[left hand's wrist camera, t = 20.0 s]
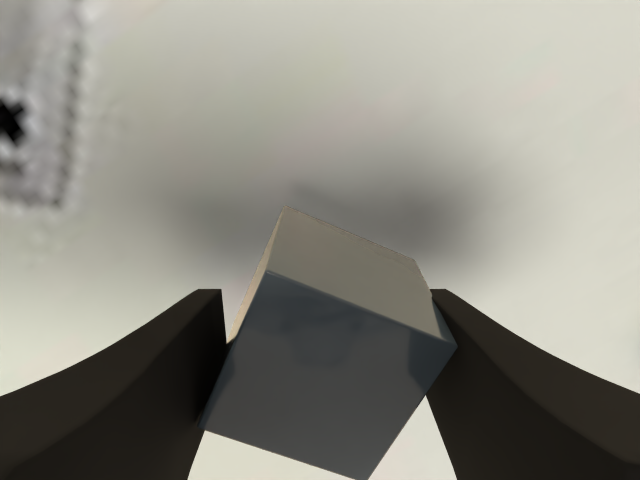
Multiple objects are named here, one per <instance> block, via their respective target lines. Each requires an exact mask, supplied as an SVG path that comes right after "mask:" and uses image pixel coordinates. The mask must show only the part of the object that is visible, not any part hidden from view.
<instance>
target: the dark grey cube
mask: <svg viewBox="0 0 640 480" xmlns="http://www.w3.org/2000/svg"><path fill="white" fill-rule="evenodd" d="M457 348H458V344H457V342H456V340H455V338H454V336H453V335H452V333H451V331H450V329H449V327H448V325H447V323H446V321H445V319H444V318H443V316H442V314H441V312H440V311H439V309H438V308H437V306H436V304H435V303H434V301H433V299H432V293H431V291H430V289H429V287H428V285H427V283H426V281H425V280H424V278H423V276H422V274H421V272H420V270H419V268H418V266H417V264H416V262H415V260H413V259H411V258H408V257H406V256H404V255H401V254H399V253H397V252H394V251H392V250H390V249H387V248H385V247H383V246H380V245H378V244H375V243H373V242H371V241H368V240H366V239H364V238H361V237H359V236H357V235H354V234H352V233H350V232H347V231H345V230H342V229H340V228H338V227H335V226H333V225H331V224H328V223H326V222H324V221H321V220H319V219H317V218H314V217H312V216H309V215H307V214H305V213H302V212H300V211H298V210H295V209H293V208H291V207H288V206H284V207H283V209H282V212H281V214H280V216H279V219H278V221H277V223H276V226H275V228H274V230H273V233H272V235H271V237H270V240H269V242H268V244H267V246H266V249H265V251H264V253H263V256H262V258H261V260H260V263H259V265H258V267H257V270H256V272H255V274H254V277H253V279H252V281H251V284H250V286H249V288H248V291H247V293H246V295H245V298H244V300H243V302H242V304H241V307H240V309H239V311H238V314H237V316H236V318H235V321H234V323H233V326H232V329H231V332H230V334H229V337H228V340H227V344H226V347H225V350H224V352H223V355H222V358H221V361H220V364H219V366H218V369H217V372H216V375H215V377H214V380H213V383H212V385H211V388H210V391H209V393H208V396H207V399H206V401H205V404H204V407H203V410H202V412H201V415H200V418H199V421H198V424H197V427H198V428H199V429H202V430H205V431H208V432H211V433H214V434H218V435H221V436H224V437H227V438H230V439H233V440H236V441H239V442H242V443H245V444H248V445H251V446H254V447H257V448H260V449H263V450H266V451H269V452H272V453H275V454H278V455H281V456H285V457H288V458H291V459H294V460H297V461H300V462H303V463H306V464H309V465H312V466H315V467H318V468H321V469H324V470H327V471H330V472H333V473H336V474H339V475H342V476H345V477H348V478H352V479H355V480H368V479H369V477H370V476H371V474H372V473H373V471H374V470H375V469H376V467H377V466H378V464H379V463H380V461H381V460H382V458H383V457H384V455H385V454H386V452H387V451H388V449H389V448H390V446H391V445H392V444H393V442H394V441H395V439H396V438H397V436H398V435H399V433H400V432H401V430H402V429H403V427H404V426H405V424H406V423H407V422H408V420H409V419H410V417H411V416H412V414H413V413H414V411H415V410H416V408H417V407H418V405H419V404H420V402H421V401H422V400H423V398H424V397H425V395H426V394H427V392H428V391H429V389H430V388H431V386H432V385H433V383H434V382H435V380H436V379H437V377H438V376H439V375H440V373H441V372H442V370H443V369H444V367H445V366H446V364H447V363H448V361H449V360H450V358H451V357H452V355H453V354H454V353H455V351H456V350H457Z"/></svg>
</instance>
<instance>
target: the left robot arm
mask: <svg viewBox="0 0 640 480" xmlns="http://www.w3.org/2000/svg"><path fill="white" fill-rule="evenodd" d="M430 291H431V293H432V299H433V301H434V303H435V304H436V306H437V308H438V309H439V311H440V312H441V314H442V316H443V318H444V319H445V321H446V323H447V325H448V327H449V329H450V331H451V333H452V335H453V336H454V338H455V340H456V342H457V344H458V348H457V350H456V351H455V353H454V354H453V355H452V357H451V358H450V360H449V361H448V363H447V364H446V366H445V367H444V369H443V370H442V372H441V373H440V375H439V376H438V377H437V379H436V380H435V382H434V383H433V385H432V386H431V388H430V389H429V391H428V392H427V394H426V397H427V399H428V402H429V405H430V407H431V410H432V413H433V416H434V418H435V421H436V423H437V426H438V429H439V431H440V434H441V437H442V439H443V442H444V445H445V447H446V450H447V452H448V455H449V458H450V460H451V463H452V466H453V469H454V472H455V475H456V478H457V480H640V394H639V393H636V392H634V391H631V390H629V389H626V388H624V387H622V386H619V385H617V384H614V383H612V382H609V381H607V380H604V379H602V378H600V377H597V376H595V375H593V374H591V373H588V372H586V371H584V370H582V369H580V368H578V367H576V366H573V365H571V364H569V363H567V362H565V361H563V360H561V359H559V358H557V357H555V356H553V355H551V354H549V353H547V352H546V351H544V350H542V349H540V348H538V347H536V346H535V345H533V344H531V343H530V342H528V341H526V340H524V339H523V338H521V337H519V336H518V335H516V334H514V333H513V332H511V331H509V330H508V329H506V328H505V327H503V326H502V325H500V324H498V323H497V322H495V321H494V320H492V319H491V318H489V317H488V316H486V315H485V314H483V313H482V312H480V311H479V310H477V309H476V308H474V307H473V306H471V305H470V304H469V303H467V302H466V301H464V300H463V299H461V298H460V297H458V296H457V295H455V294H453V293H452V292H450V291H448V290H446V289H430ZM226 344H227V342H226V332H225V322H224V311H223V301H222V291H221V289H198V290H196V291H194V292H192V293H191V294H189V295H187V296H186V297H184V298H183V299H182V300H180V301H179V302H177V303H176V304H174V305H173V306H171V307H170V308H169V309H167V310H166V311H164V312H163V313H161V314H160V315H158V316H157V317H155V318H154V319H152V320H151V321H149V322H148V323H146V324H145V325H143V326H142V327H140V328H138V329H137V330H135V331H134V332H132V333H130V334H129V335H127V336H125V337H124V338H122V339H121V340H119V341H117V342H116V343H114V344H112V345H111V346H109V347H107V348H105V349H104V350H102V351H100V352H98V353H96V354H94V355H93V356H91V357H89V358H87V359H85V360H83V361H81V362H79V363H77V364H75V365H73V366H71V367H69V368H67V369H64V370H62V371H60V372H58V373H55V374H53V375H51V376H48V377H46V378H44V379H41V380H39V381H37V382H34V383H32V384H30V385H27V386H25V387H23V388H20V389H18V390H16V391H13V392H11V393H8V394H5V395H3V396H0V480H187V479H188V476H189V472H190V469H191V466H192V464H193V461H194V458H195V455H196V453H197V450H198V447H199V445H200V442H201V439H202V437H203V434H204V431H205V430H202V429H199V428H198V427H197V424H198V421H199V418H200V415H201V412H202V410H203V407H204V404H205V401H206V399H207V396H208V393H209V391H210V388H211V385H212V383H213V380H214V377H215V375H216V372H217V369H218V366H219V364H220V361H221V358H222V355H223V352H224V350H225V347H226Z"/></svg>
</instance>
